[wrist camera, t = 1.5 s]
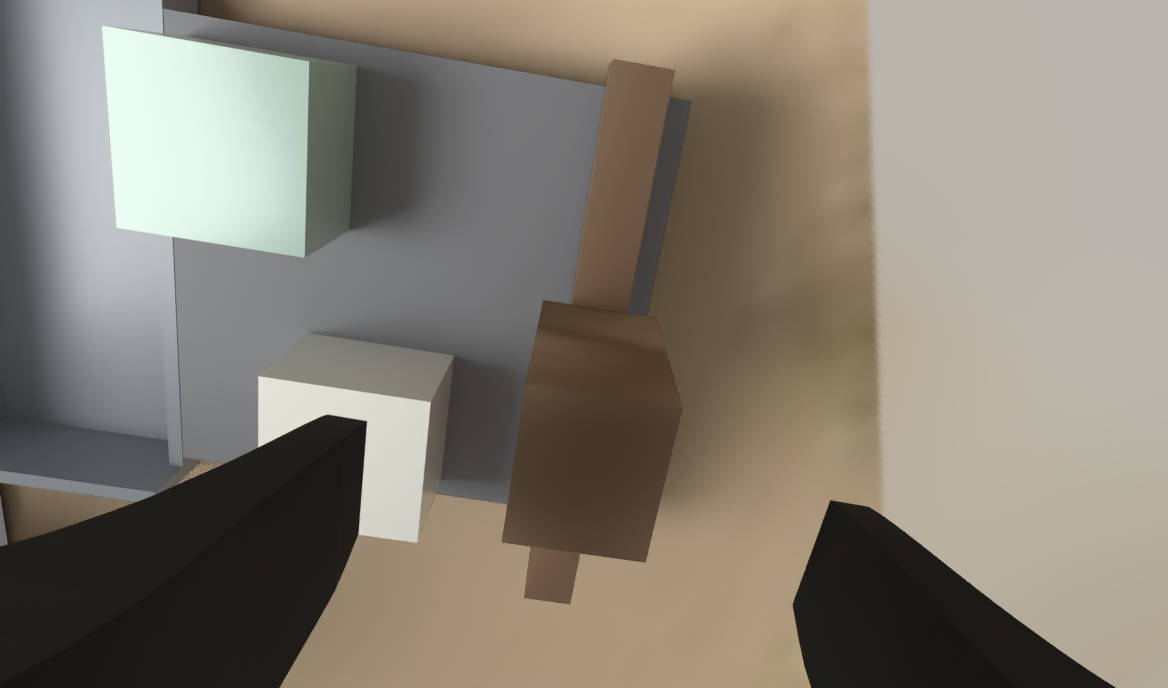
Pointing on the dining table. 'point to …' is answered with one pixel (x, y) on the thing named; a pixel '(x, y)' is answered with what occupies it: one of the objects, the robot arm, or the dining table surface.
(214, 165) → the pale mint cube
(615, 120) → the walnut mallet
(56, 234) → the tray
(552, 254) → the charcoal board
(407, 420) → the matte white cube
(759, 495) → the dining table surface
